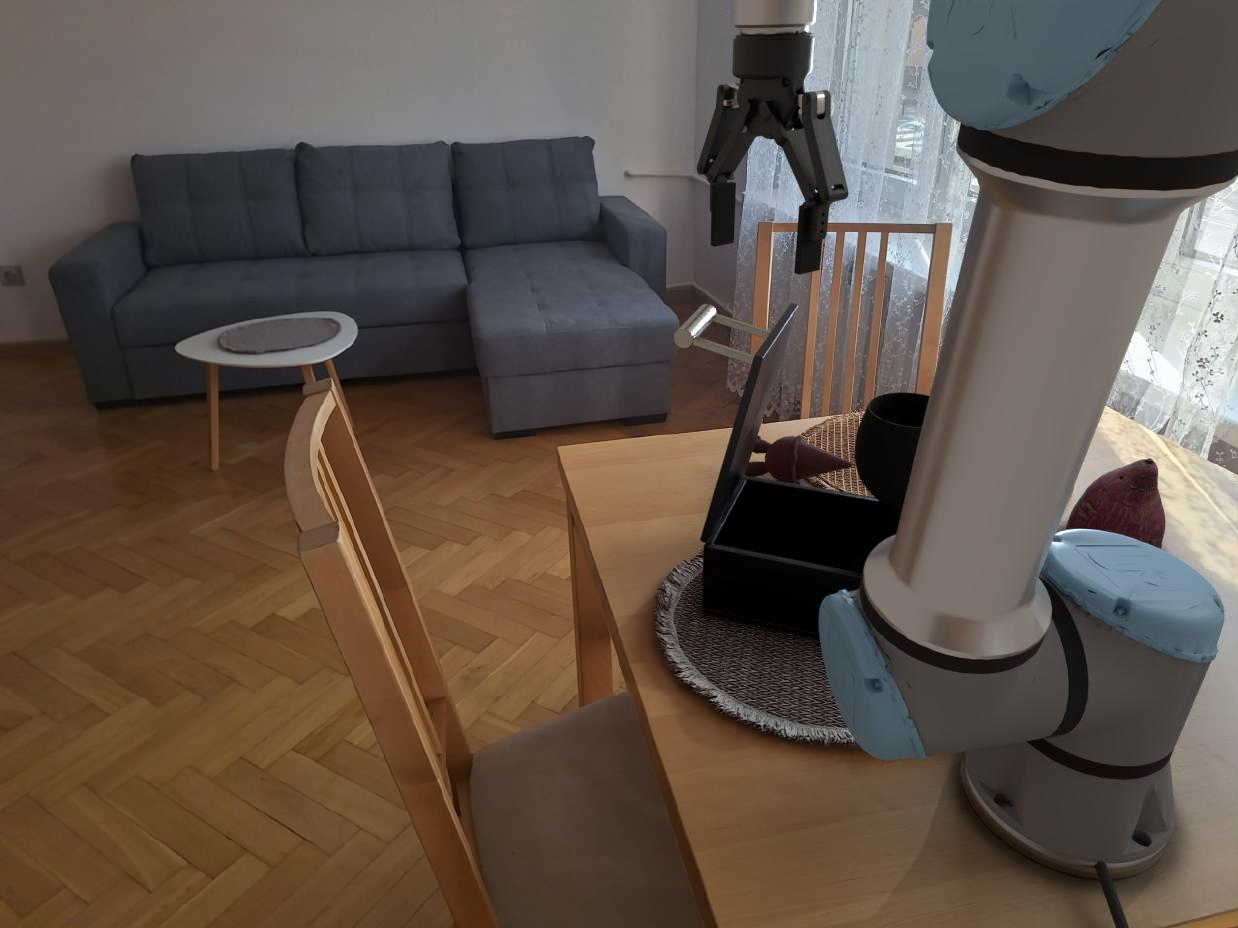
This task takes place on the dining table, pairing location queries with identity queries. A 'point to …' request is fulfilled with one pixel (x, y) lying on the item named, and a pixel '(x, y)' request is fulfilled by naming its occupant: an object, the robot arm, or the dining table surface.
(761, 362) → the lid
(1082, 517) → the vegetable
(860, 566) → the wine glass
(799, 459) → the icecream
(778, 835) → the dining table surface
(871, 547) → the black open box
